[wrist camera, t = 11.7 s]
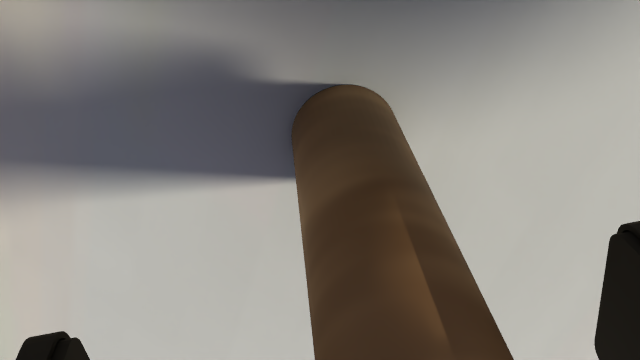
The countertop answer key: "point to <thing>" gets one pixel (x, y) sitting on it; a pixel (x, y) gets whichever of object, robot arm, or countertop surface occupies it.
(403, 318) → the dowel
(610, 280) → the robot arm
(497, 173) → the countertop surface
